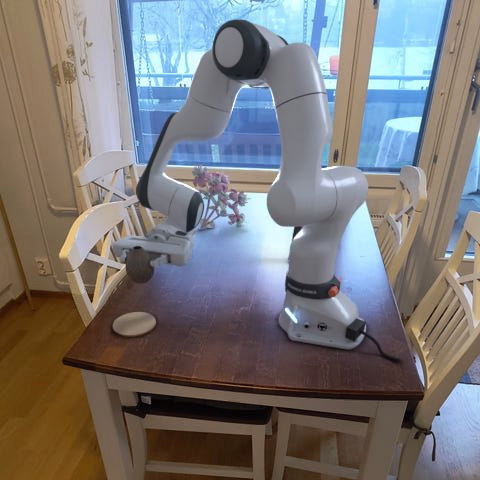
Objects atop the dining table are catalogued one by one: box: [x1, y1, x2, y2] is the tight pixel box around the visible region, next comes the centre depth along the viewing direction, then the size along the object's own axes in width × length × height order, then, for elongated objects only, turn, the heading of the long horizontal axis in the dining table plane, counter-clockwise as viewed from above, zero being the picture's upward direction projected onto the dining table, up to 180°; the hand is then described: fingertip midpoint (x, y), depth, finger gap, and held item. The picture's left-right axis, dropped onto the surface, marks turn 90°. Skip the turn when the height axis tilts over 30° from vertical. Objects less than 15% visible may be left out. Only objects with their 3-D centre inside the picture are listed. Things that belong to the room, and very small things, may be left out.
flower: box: [191, 163, 252, 232], centre depth 164 cm, size 20×22×25 cm
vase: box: [124, 246, 155, 285], centre depth 104 cm, size 7×7×9 cm
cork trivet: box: [112, 311, 157, 338], centre depth 111 cm, size 11×11×1 cm
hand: (137, 263), depth 103 cm, fingers closed on vase, 7 cm apart
